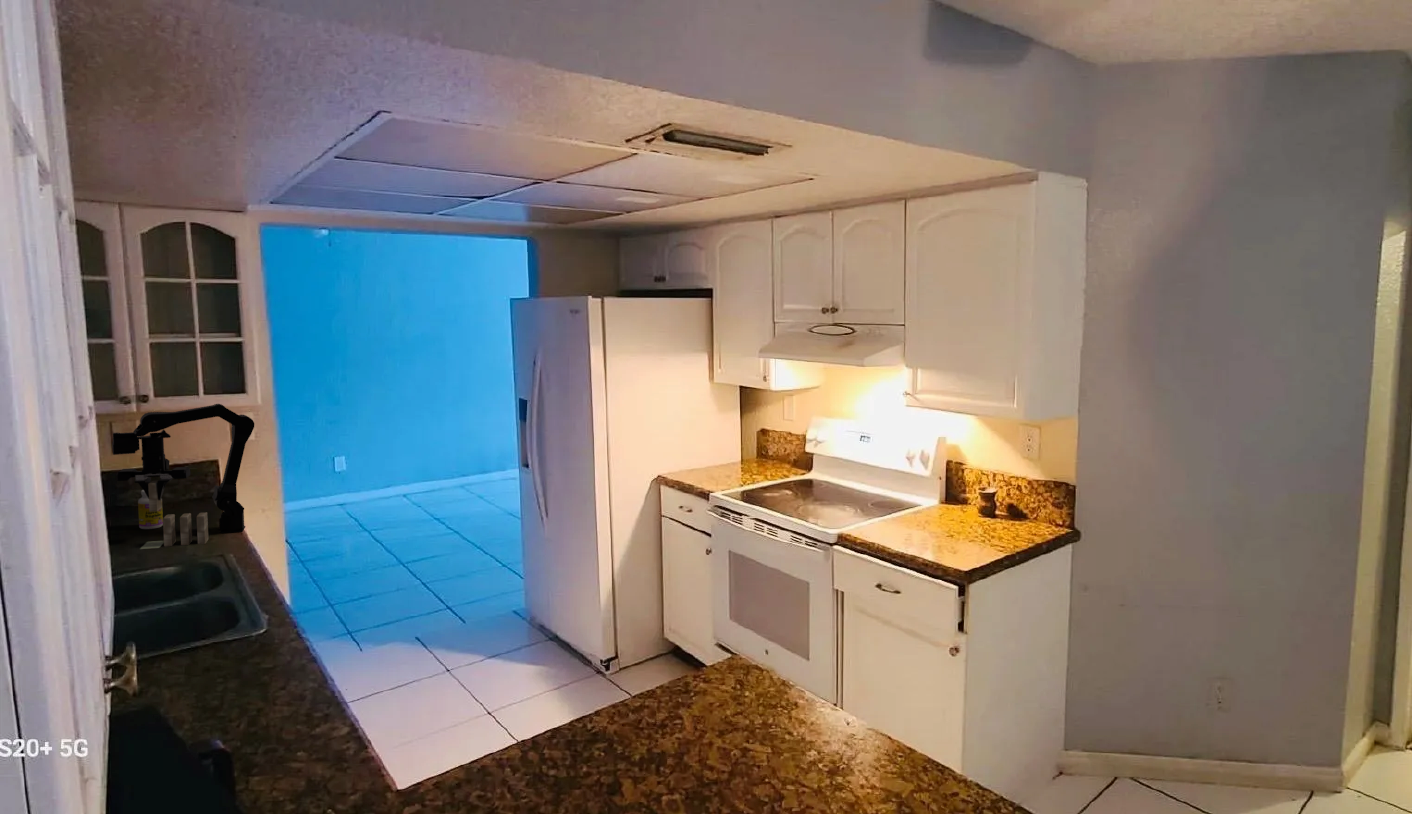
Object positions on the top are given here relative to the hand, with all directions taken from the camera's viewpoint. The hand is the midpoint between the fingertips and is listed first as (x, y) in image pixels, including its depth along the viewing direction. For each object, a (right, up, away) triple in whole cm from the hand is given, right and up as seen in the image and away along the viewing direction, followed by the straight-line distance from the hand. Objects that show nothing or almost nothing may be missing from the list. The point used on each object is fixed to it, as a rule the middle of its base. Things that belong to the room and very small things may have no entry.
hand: (155, 500), depth 250 cm
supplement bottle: (-13, -11, +16) cm, 23 cm away
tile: (0, -3, 0) cm, 3 cm away
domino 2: (+10, -14, 0) cm, 17 cm away
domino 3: (+14, -14, +1) cm, 20 cm away
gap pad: (+2, -14, -4) cm, 14 cm away
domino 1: (+6, -14, -2) cm, 15 cm away
